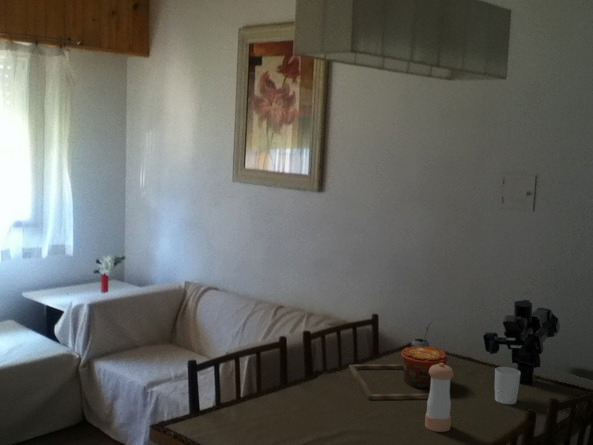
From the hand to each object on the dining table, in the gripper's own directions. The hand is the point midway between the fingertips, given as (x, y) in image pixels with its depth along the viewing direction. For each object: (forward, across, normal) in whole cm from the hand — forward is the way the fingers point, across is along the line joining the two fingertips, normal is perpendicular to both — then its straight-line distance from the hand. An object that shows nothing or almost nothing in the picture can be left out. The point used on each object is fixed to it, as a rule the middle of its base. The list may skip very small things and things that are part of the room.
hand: (504, 353), depth 222 cm
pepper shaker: (+34, -10, +9) cm, 36 cm away
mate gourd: (-18, -41, +13) cm, 46 cm away
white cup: (0, -2, +16) cm, 17 cm away
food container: (+3, -30, +11) cm, 32 cm away
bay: (+8, -36, +9) cm, 38 cm away
